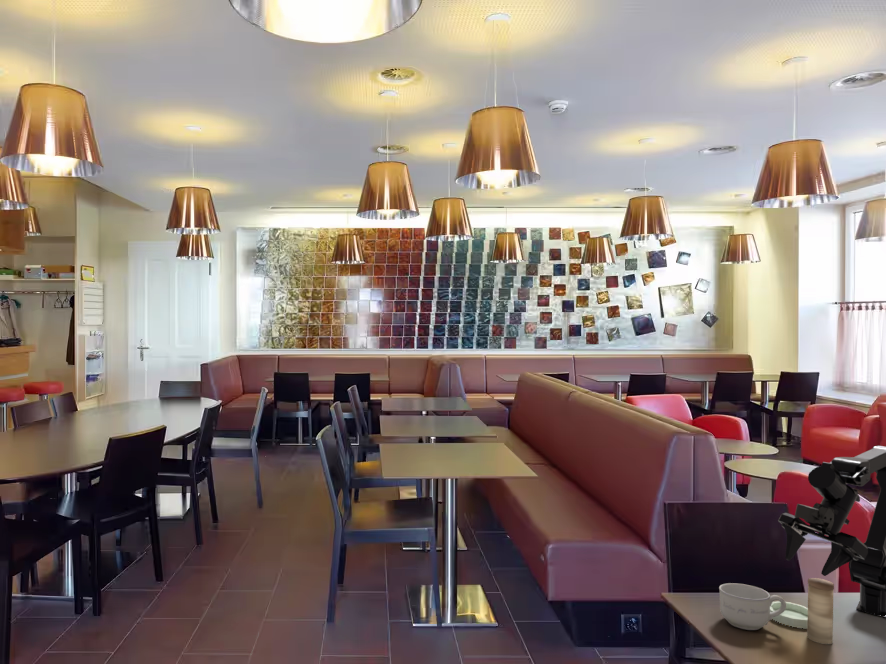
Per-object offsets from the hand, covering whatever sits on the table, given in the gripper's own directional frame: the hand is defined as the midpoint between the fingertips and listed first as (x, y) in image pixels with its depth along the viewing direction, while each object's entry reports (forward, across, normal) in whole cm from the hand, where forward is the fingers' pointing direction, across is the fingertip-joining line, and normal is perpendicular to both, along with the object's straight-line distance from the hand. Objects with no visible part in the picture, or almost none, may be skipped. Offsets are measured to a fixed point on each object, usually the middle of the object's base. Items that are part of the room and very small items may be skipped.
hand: (804, 567), depth 141 cm
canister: (+12, +4, +8) cm, 15 cm away
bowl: (+11, -5, +11) cm, 16 cm away
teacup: (+18, -5, 0) cm, 18 cm away
